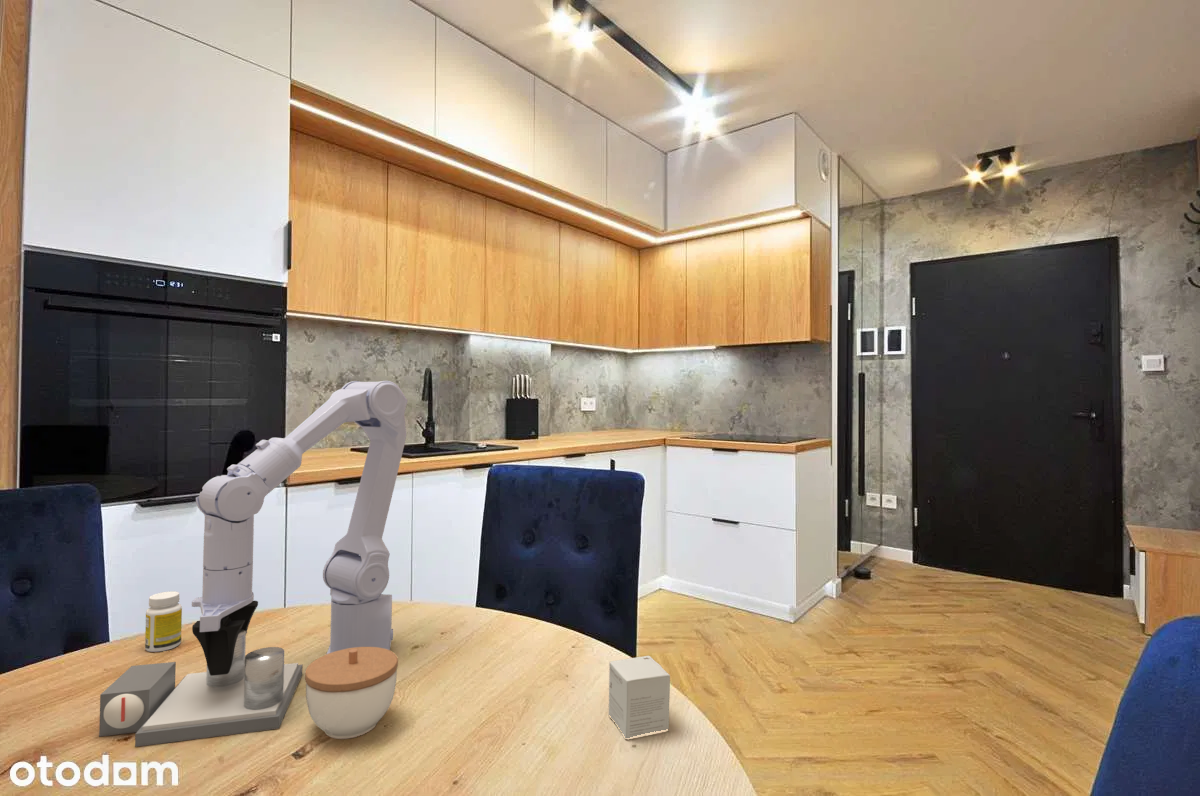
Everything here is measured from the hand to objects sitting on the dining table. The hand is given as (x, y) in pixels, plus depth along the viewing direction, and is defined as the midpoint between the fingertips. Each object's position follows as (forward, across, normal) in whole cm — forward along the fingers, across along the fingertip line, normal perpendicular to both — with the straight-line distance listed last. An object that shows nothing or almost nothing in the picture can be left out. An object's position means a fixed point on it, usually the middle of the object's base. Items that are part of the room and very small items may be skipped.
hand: (225, 665), depth 79 cm
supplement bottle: (+5, -22, -15) cm, 27 cm away
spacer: (+2, 0, 0) cm, 2 cm away
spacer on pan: (+3, +6, +6) cm, 9 cm away
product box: (+5, +20, +52) cm, 56 cm away
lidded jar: (+5, +11, +17) cm, 21 cm away
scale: (+5, +2, -2) cm, 5 cm away
